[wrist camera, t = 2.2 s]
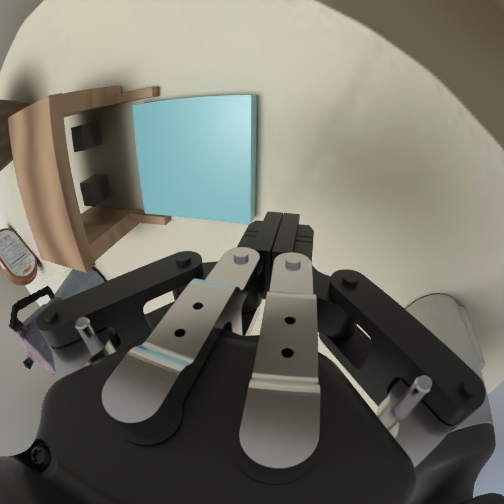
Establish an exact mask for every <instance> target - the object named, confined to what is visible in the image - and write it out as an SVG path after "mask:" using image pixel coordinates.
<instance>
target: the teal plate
mask: <svg viewBox="0 0 504 504" xmlns="http://www.w3.org/2000/svg"><path fill="white" fill-rule="evenodd" d="M256 119H257V95H226V96H206V97H192V98H181V99H172V100H164V101H156V102H150V103H143V104H137V105H133V121H134V133H135V144H136V153H137V162H138V170H139V178H140V185H141V192H142V198H143V204H144V210H145V214H156V215H167V216H177V217H187V218H197V219H206V220H215V221H224V222H233V223H242V224H251V222H252V221H253V219H254V217H255V197H256Z"/></svg>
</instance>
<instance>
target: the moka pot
mask: <svg viewBox="0 0 504 504" xmlns="http://www.w3.org/2000/svg"><path fill="white" fill-rule="evenodd" d="M104 282H105V281H104V280H103V278H102V277H101V276H100V275H99V274H98V273H97V272H96V271H95V270H94V269H92V268H91V269H90V270H89V271H88V272H87V273H86V272H82V271H79V270H75V269H73V270H72V271H71V272H70V274H69V275H68V276H67V278H66V279H65V281H64V282H63V283H62V285H61V286H60V287H59V289H58V290H57V292H56V293H55V295H54V293H53V292H52V290H51V289H50V287H49V286H46V287H45V288H43V289H42V290H38V292H36V293H33V294H32V295H29V296H28V297H25V298H23V299H21V300H19V301H18V302H17V303H16V304H14V305H13V307H12V312H11V320H10V325H9V327H10V328H11V329H13V330H14V331H15V334H16V335H17V337H18V339H19V341H20V343H21V344H22V346H23V348H24V350H25V351H26V353H27V355H28V358H27V359H26V360H25V361H24V362H23V363H24V365H25V366H26V367H27V368H28V369H31V366H32V364H33V362H35V363H37V364H38V365H40V366H41V367H43V368H44V369H46V370H47V371H48V372H50V373H51V374H53V375H56V371H55V366H54V360H53V355H52V350H51V348H50V347H49V345H48V344H47V341H46V340H45V338H44V337H43V335H42V333H41V332H40V330H39V329H38V327H37V324H36V322H37V318H38V316H39V314H40V313H41V312H42V311H43V310H44V309H45V308H47V307H48V306H50V305H53V304H55V303H57V302H60V301H62V300H64V299H66V298H69V297H71V296H73V295H76V294H78V293H80V292H83V291H85V290H87V289H90V288H92V287H94V286H97V285H99V284H102V283H104ZM46 294H47V295H49V297H50V299H51V300H50V301H49V302H48V303H47V304H44V305H42V306H41V307H40V308H39V309H38V310H36V311H35V312H34V313H33V314H32V315H31V316H30V317H29V318H27V319H26V320H25V321H24V322H23V323H22V322H21V321H19V320H18V318H17V313H18V311H19V310H20V309H23V308H24V307H26V306H27V305H29V304H31V303H32V302H34V301H36V300H37V299H39V297H43V296H45V295H46Z"/></svg>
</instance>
